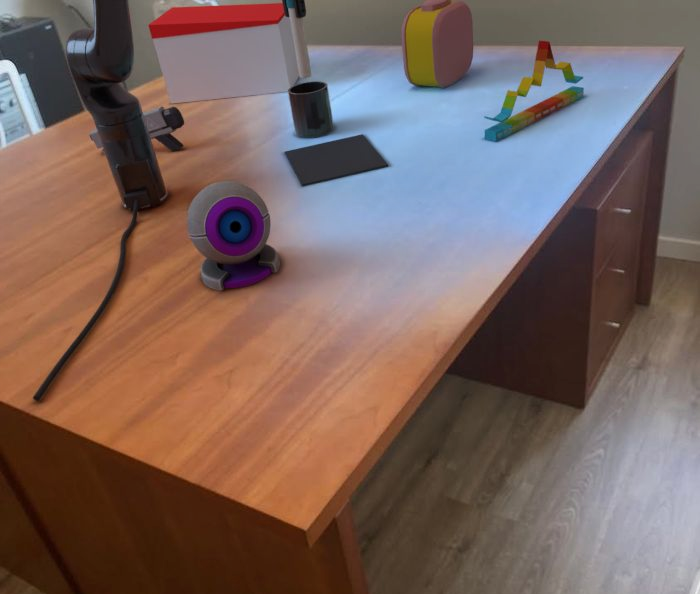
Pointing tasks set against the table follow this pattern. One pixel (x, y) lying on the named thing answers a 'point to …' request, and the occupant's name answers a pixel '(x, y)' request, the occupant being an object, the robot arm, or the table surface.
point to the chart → (541, 109)
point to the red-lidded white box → (225, 51)
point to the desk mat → (334, 159)
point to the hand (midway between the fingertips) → (295, 16)
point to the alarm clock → (437, 43)
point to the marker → (299, 41)
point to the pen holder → (311, 109)
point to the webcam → (231, 235)
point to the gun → (157, 127)
